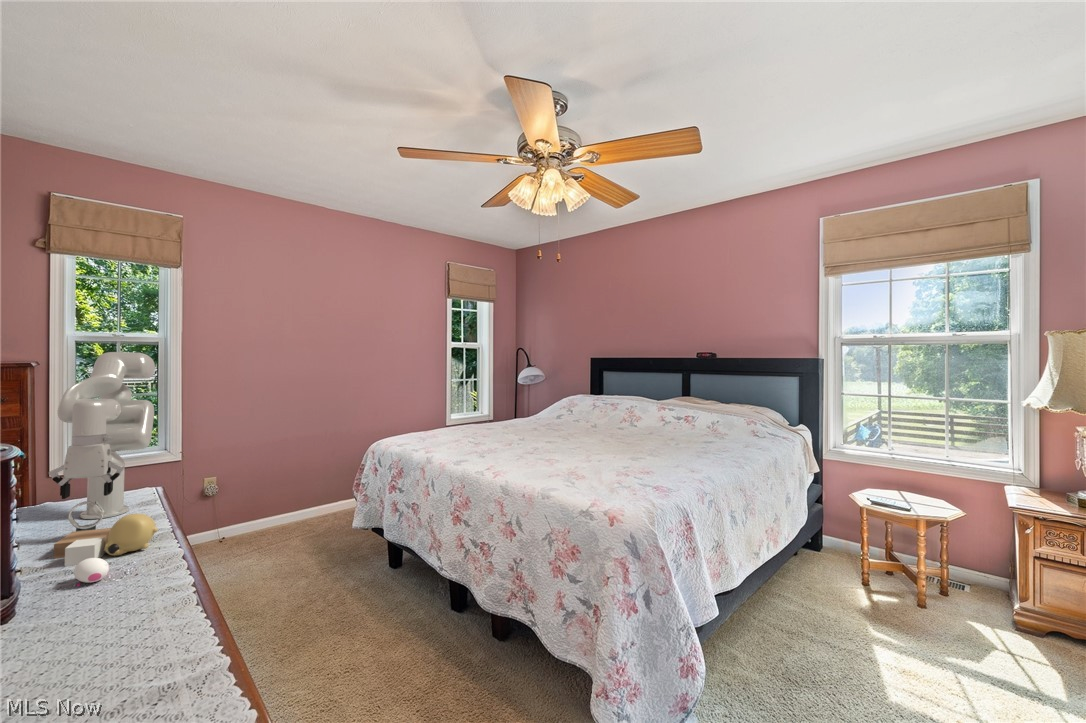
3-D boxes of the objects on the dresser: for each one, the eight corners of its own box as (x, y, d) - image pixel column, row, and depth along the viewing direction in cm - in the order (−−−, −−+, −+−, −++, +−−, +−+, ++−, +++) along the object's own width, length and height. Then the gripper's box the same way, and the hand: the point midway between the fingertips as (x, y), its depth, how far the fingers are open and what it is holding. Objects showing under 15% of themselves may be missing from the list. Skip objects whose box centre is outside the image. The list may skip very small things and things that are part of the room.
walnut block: (72, 545, 136) (72, 531, 136) (115, 540, 140) (116, 527, 140) (53, 558, 127) (53, 544, 127) (100, 553, 131) (101, 539, 131)
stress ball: (109, 593, 116) (128, 565, 119) (77, 587, 109) (98, 558, 113) (89, 586, 118) (108, 560, 121) (57, 580, 111) (78, 552, 115)
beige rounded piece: (128, 558, 136) (91, 540, 131) (163, 521, 142) (130, 503, 137) (130, 568, 129) (92, 550, 124) (167, 529, 135) (132, 510, 130)
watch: (104, 537, 142) (105, 501, 142) (66, 543, 137) (68, 506, 137) (104, 531, 146) (105, 497, 146) (68, 538, 141) (69, 502, 141)
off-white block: (75, 558, 128) (76, 540, 128) (103, 554, 130) (104, 537, 130) (64, 566, 122) (65, 548, 122) (94, 563, 125) (94, 544, 125)
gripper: (129, 437, 148) (127, 490, 148) (57, 440, 141) (55, 496, 141) (120, 440, 142) (118, 496, 141) (43, 444, 134) (41, 502, 134)
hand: (86, 496), depth 141 cm, fingers open, 9 cm apart
